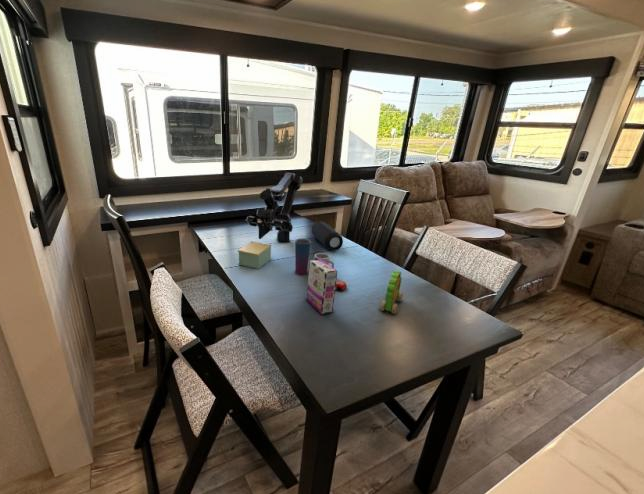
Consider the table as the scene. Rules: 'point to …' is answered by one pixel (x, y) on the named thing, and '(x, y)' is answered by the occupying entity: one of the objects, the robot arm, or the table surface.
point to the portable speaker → (327, 236)
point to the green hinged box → (255, 259)
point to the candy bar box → (321, 286)
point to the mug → (324, 258)
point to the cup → (302, 255)
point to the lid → (254, 248)
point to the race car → (340, 285)
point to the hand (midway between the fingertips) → (259, 238)
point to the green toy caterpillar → (393, 293)
